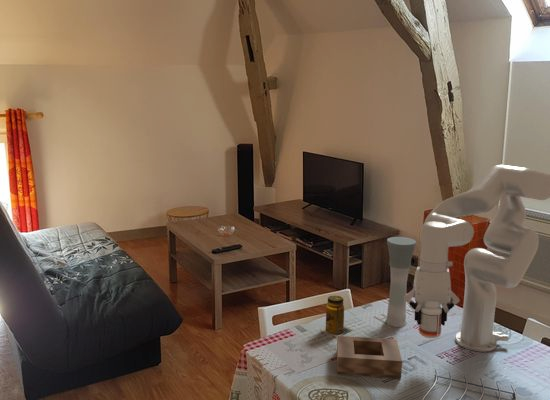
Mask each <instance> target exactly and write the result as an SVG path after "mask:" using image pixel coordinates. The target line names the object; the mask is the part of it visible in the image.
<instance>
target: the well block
mask: <svg viewBox="0 0 550 400" xmlns="http://www.w3.org/2000/svg"><path fill="white" fill-rule="evenodd" d="M336 338H337V339H336V340H337V341H336V375H340V376H355V377H356V376H357V377H369V378H385V379H397V380H399V379H400V380H401V379H402V369H403V360H402V355H401V352H400V347H399V344H398V341H397V339H396V338H395V339H394V338H379V337H361V336H347V335H345V336H344V335H341V336H337V337H336Z"/></svg>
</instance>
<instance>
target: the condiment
mask: <svg viewBox="0 0 550 400" xmlns="http://www.w3.org/2000/svg"><path fill="white" fill-rule="evenodd" d="M344 301H345V299H344V297H342V296H340V295H330V296H328V297H327V304H326V308H325V312H326V313H325V327H324V328H323V329H320V332H323V333H325V334H328V335H330V336H332V337H334V338H337V336H344V335H346V334H347V333H348V332H350V331H352V330H353V329H352V328H349V327H347V326H344V325H345V324H344V323H345V305H344Z"/></svg>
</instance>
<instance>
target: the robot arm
mask: <svg viewBox="0 0 550 400" xmlns="http://www.w3.org/2000/svg"><path fill="white" fill-rule="evenodd" d="M521 197H522V198H525V199H526V198H528V199H533V200H537V201H546V200H549V198H550V173H546V172H543V171H539V170H536V169H531V168H528V167H521V166H514V165H505V164H497V165H493V166H491V167H490V168H489V169H488V170H487V171H486V172H485V173H484V174H483V175H482V176H481V177H480V178H479V179H478V180H477V182H476V183H474V185H472V187H471V188H470V189H469V190H467V191H465V192H460V193H459V194H457V195H453V196H451V197H449V198H447V199H445V200H443V201H441V202H440V203H438V204H437V205H436V206H435V207H434V208H433V209H432V210H431V211H430V213H429V214H428V215H427V216H426V218H425V220H424V222H423V224H422V225H421V231H420V232H421V233H420V251H419V266H417V267H416V270H415V273H414V279H413V284H412V285H413V287H412V289H411V290H410V291H409V292H407V293H406V295H405V296H404V299H405V301H406V304H409V306H410V307H411V308H412V309H414V321H415V322H416V323H417V325H418V326H419V325H420V324H421V311H420V308H421V306H422V304H425V303H427V301H435V302H439V304H441V306H442V307H441V308H442V321H441V326H445V324H446V322H447V321H448V313H449V311H450V310H451V309H453V308H454V307H455V306H456V305H457V304H458V303H459V302H460V300H461V299H460V297H459V296H457V295H456V293H455V292H453V291H452V286H451V285H452V284H451V283H452V282H451V273H450V268H449V267H453V265H454V262H453V261H450V260H449V248H450V247H451V248H452V247H461V246H465V245H467V244H468V243H470V242H471V241H472V240H473V237H474V235H475V230H474V227H473V225H472V224H471V223H470V222H469V221H467V220H464V219H462V218H458V217H461V216H462V217H463V216H471V215H472V216H473V215H479V214H480V215H481V214H486V213H489V212H490V211H491V210H493V209H494V208H495V206H497V204H498V203H499V206H498V209H497V211H496V213H495V215H494V216H493V218H492V219H491V221H490V224H489V225H488V227H487V229H486V231H485V233H484V235H483V243H484V245H485V246H486V247H487V248H489V249H487V248H483V247H475V248H472V249H470V250H469V251H467V252H466V254H465V256H464V260H463V267H464V268H463V269H464V277H465V280H464V281H465V282H464V285H465V286H464V297H463V306H462V315H461V317H462V318H461V327H460V331H458V332H457V333H456V334H455V337H454V338H455V341H456V343H457V344H458V345H459V346H461V347H462V348H465V349H467V350H471V351H474V352H482V353H484V352H492V351H494V350H496V349H497V345H498V343H497V342H498V341H503V342H509V335H508V334H502V332H501V331H494V325H495V324H494V323H495V314H496V313H495V312H496V305H497V295H498V294H497V287H496V286H500V287H503V288H507V289H512V288H515V287H517V286H518V285H519V284H520V282H521V281H522V280H523V278H524V275H525V274H526V272H527V270H529V267H530V266H531V265H530V264H531V263H532V261H533V260H534V257H535V256H536V253H537V251H538V249H539V244H540V243H539V242H540V238H539V234H538V232H537V231H536V230H535V229H533V228H530V227H527V226H524V222H525V220H526V217H527V210H526V207H525V205H524V203H523V201H522V198H521ZM504 253H505V254H504ZM495 285H496V286H495ZM413 297H414V300H412V298H413ZM414 301H415V302H414Z"/></svg>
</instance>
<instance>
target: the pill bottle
mask: <svg viewBox="0 0 550 400" xmlns="http://www.w3.org/2000/svg"><path fill="white" fill-rule="evenodd" d="M441 306H442V304H439V302H435V301H427V303H425V304H422V306H421V308H420V311H421V324H420V325H418V326H419V327H418V332H419V334H420V336H422V337H424V338H427V339H437V338H439V337H440V336H441V335H442V334H441V333H442V324H441V321H442V307H441Z"/></svg>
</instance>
